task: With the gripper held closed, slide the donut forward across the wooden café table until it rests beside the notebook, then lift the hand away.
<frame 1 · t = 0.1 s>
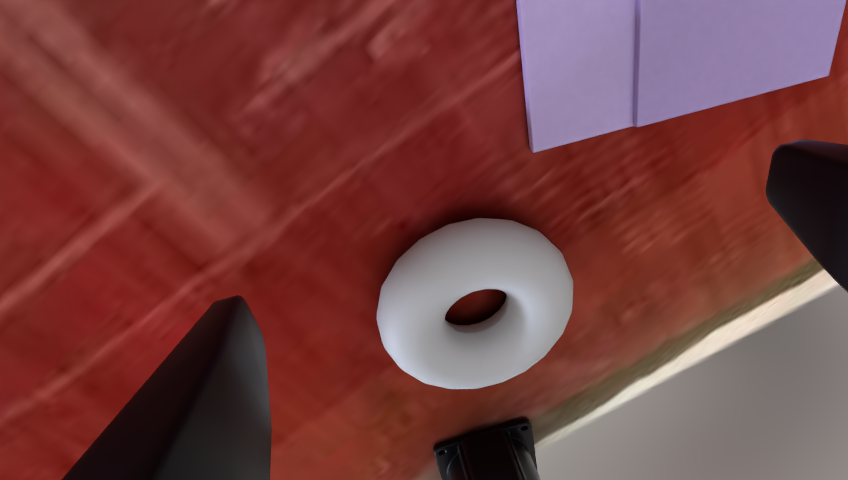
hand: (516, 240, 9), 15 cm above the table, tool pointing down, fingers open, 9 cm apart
donut: (466, 285, 29), on the table
notebook: (680, 20, 23), on the table
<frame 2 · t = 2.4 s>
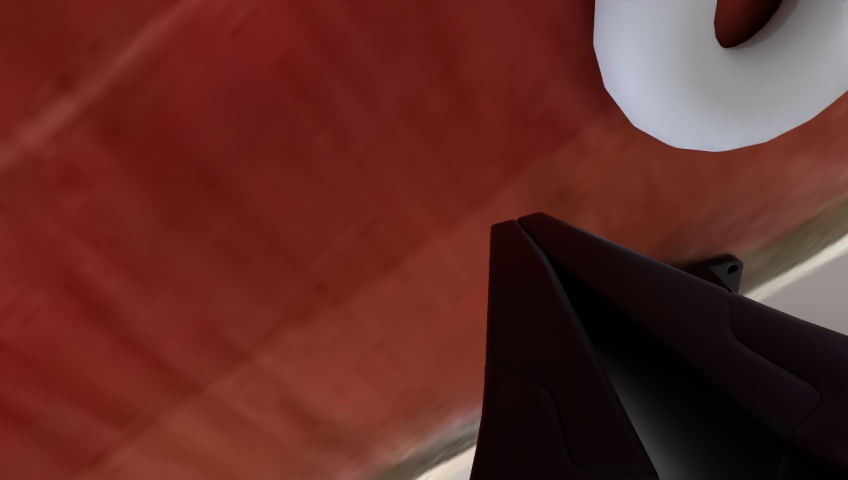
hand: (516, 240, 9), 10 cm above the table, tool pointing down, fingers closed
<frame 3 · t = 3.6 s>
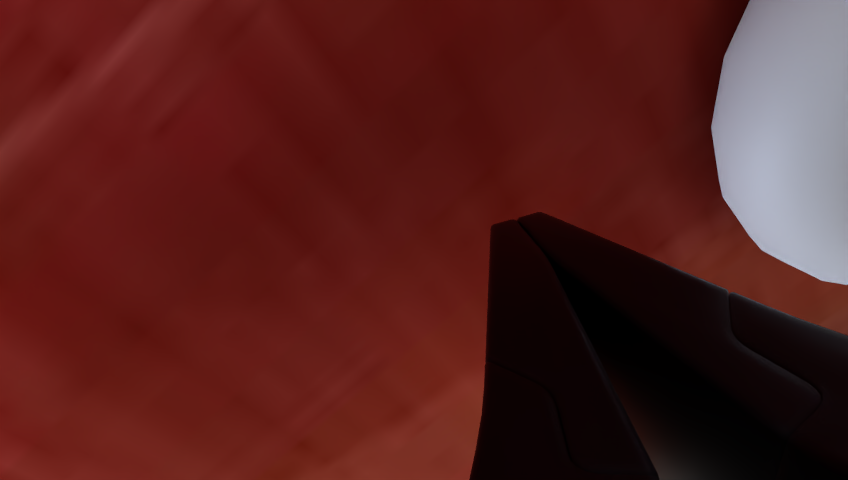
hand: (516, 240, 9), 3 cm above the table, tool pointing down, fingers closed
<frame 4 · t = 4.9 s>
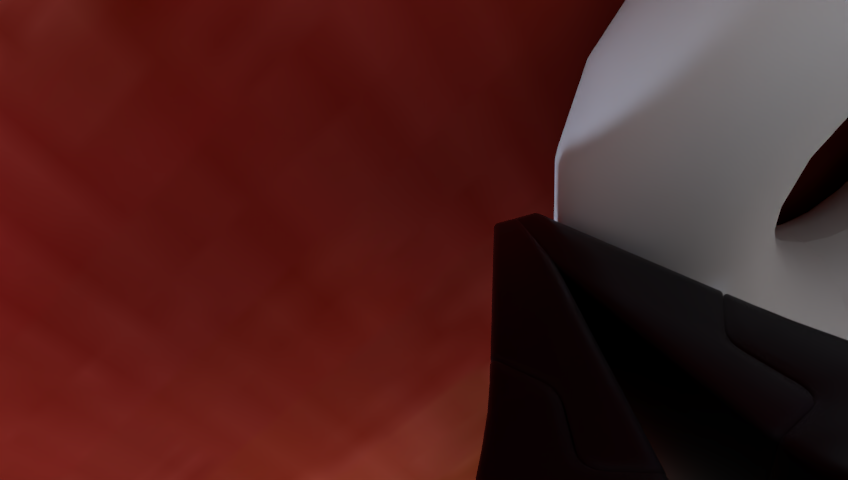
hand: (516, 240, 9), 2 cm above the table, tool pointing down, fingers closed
donut: (766, 118, 11), on the table, touching gripper
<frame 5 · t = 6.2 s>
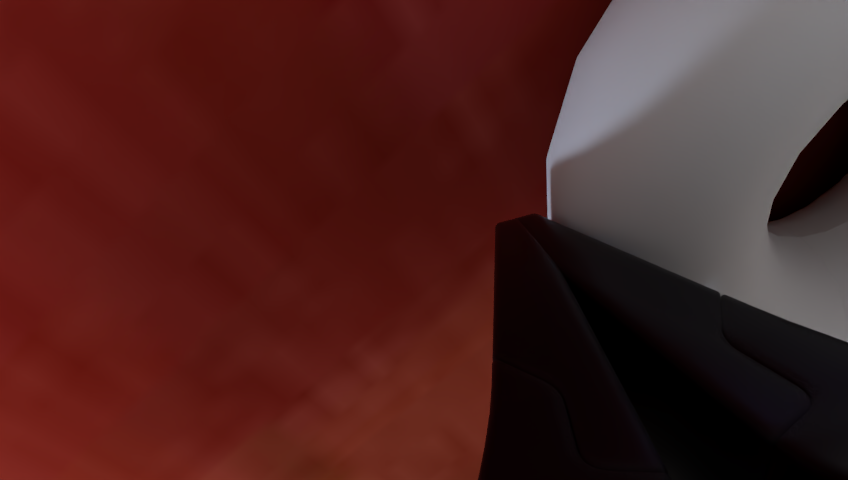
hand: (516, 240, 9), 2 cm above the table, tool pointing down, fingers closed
donut: (762, 113, 11), on the table, touching gripper
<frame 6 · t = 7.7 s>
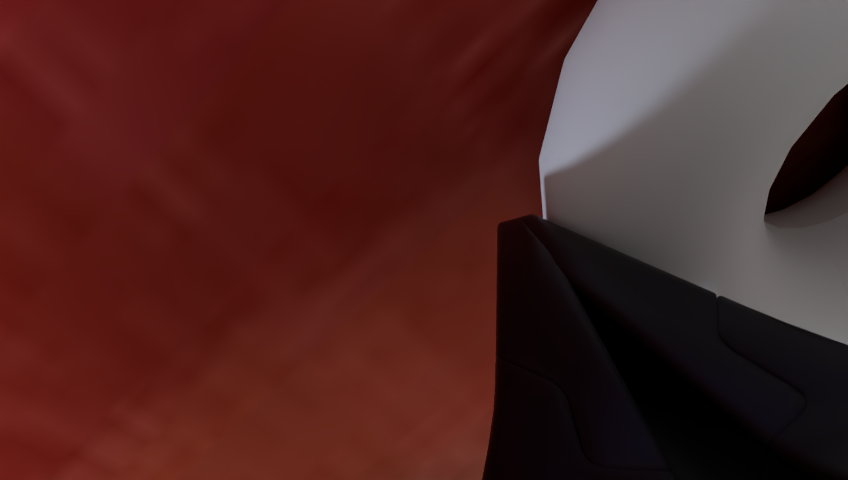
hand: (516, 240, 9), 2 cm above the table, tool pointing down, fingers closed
donut: (760, 102, 10), on the table, touching gripper
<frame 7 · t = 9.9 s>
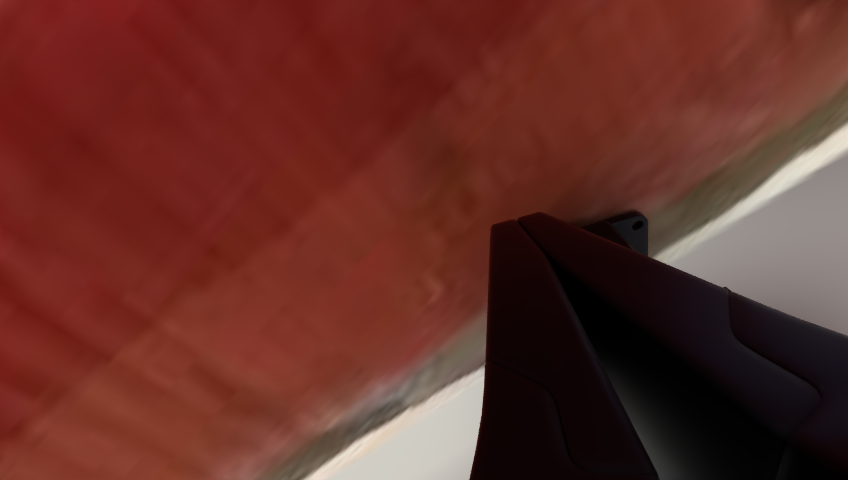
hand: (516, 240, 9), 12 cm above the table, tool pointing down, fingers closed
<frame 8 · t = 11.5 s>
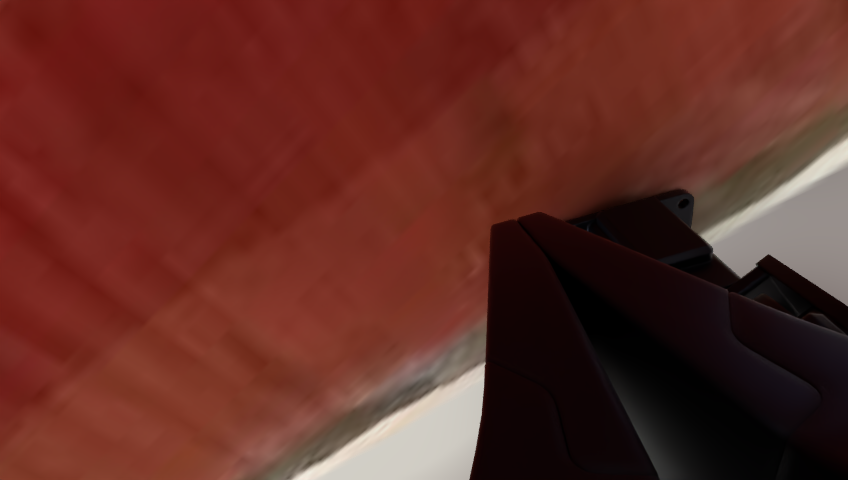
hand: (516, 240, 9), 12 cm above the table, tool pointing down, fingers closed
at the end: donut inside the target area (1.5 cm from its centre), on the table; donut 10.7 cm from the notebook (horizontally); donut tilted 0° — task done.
